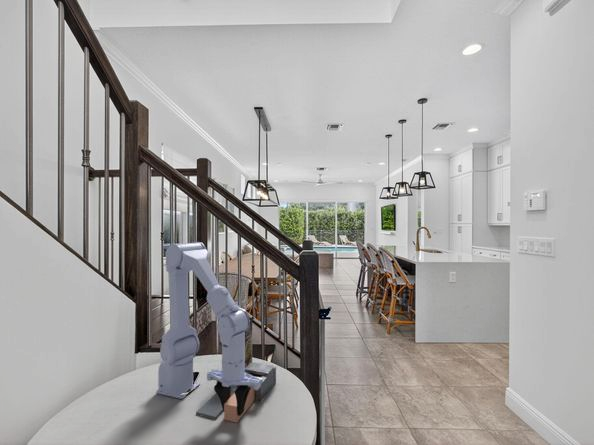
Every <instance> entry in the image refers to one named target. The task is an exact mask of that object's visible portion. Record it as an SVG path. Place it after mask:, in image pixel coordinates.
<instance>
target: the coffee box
mask: <svg viewBox="0 0 594 445" xmlns="http://www.w3.org/2000/svg"><path fill="white" fill-rule="evenodd" d="M249 320H250V324H249V327H248V329H247V330H245V368H246V367H247V366H248V365H249V364H250V363H253V319H249ZM243 332H244V331H243Z"/></svg>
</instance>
